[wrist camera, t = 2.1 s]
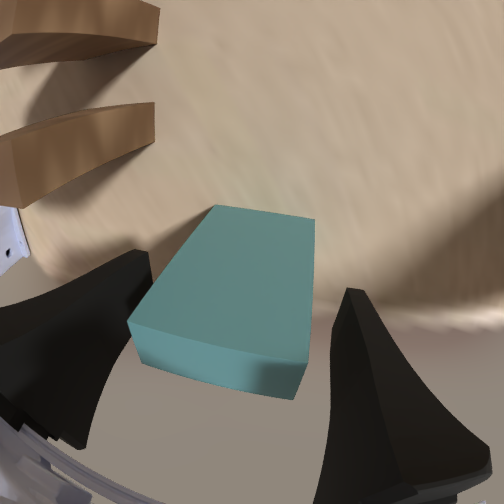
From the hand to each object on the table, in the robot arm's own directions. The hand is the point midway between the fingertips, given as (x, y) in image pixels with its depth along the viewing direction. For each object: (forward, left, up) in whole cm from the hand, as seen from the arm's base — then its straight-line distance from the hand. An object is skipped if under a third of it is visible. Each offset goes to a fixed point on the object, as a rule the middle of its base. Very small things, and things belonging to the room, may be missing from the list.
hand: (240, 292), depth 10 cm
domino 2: (+5, +8, -5) cm, 11 cm away
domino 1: (+10, +8, -5) cm, 14 cm away
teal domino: (0, 0, -5) cm, 5 cm away
